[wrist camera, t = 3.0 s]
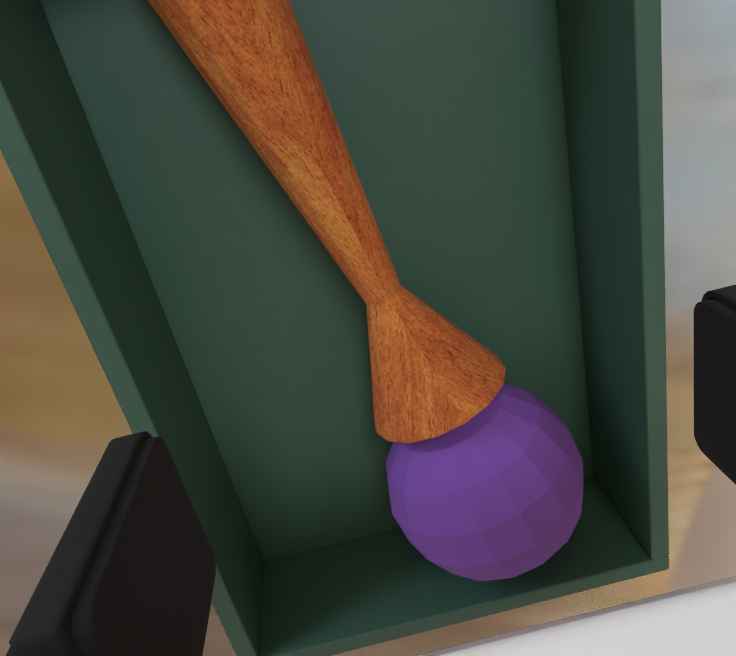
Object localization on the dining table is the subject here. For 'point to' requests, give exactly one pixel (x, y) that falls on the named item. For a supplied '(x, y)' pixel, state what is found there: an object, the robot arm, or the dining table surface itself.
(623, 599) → the dining table surface
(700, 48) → the dining table surface
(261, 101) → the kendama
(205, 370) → the tray
